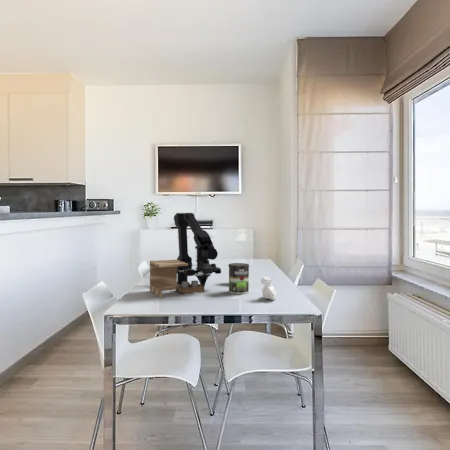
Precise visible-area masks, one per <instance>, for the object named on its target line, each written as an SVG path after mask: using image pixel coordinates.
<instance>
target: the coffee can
mask: <svg viewBox="0 0 450 450" xmlns="http://www.w3.org/2000/svg"><path fill="white" fill-rule="evenodd" d="M249 271H250V264H248V263H245V262H244V263H243V262H234V263H233V262H232V263H228V293H229V294H233V295H245V294H248V293H250V291H249V288H250V287H249V285H250V284H249V281H250V279H249V275H250V272H249Z"/></svg>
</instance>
